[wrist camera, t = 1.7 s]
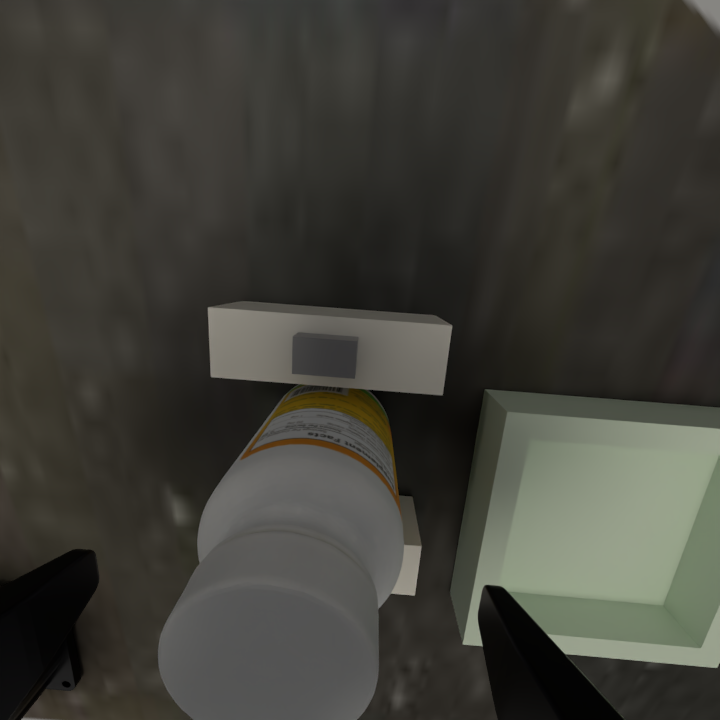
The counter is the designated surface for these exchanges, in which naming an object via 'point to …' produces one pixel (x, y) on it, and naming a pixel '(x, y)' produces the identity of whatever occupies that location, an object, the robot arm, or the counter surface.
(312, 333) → the pair of white blocks
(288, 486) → the supplement bottle
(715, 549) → the tray
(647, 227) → the counter surface
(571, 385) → the counter surface
